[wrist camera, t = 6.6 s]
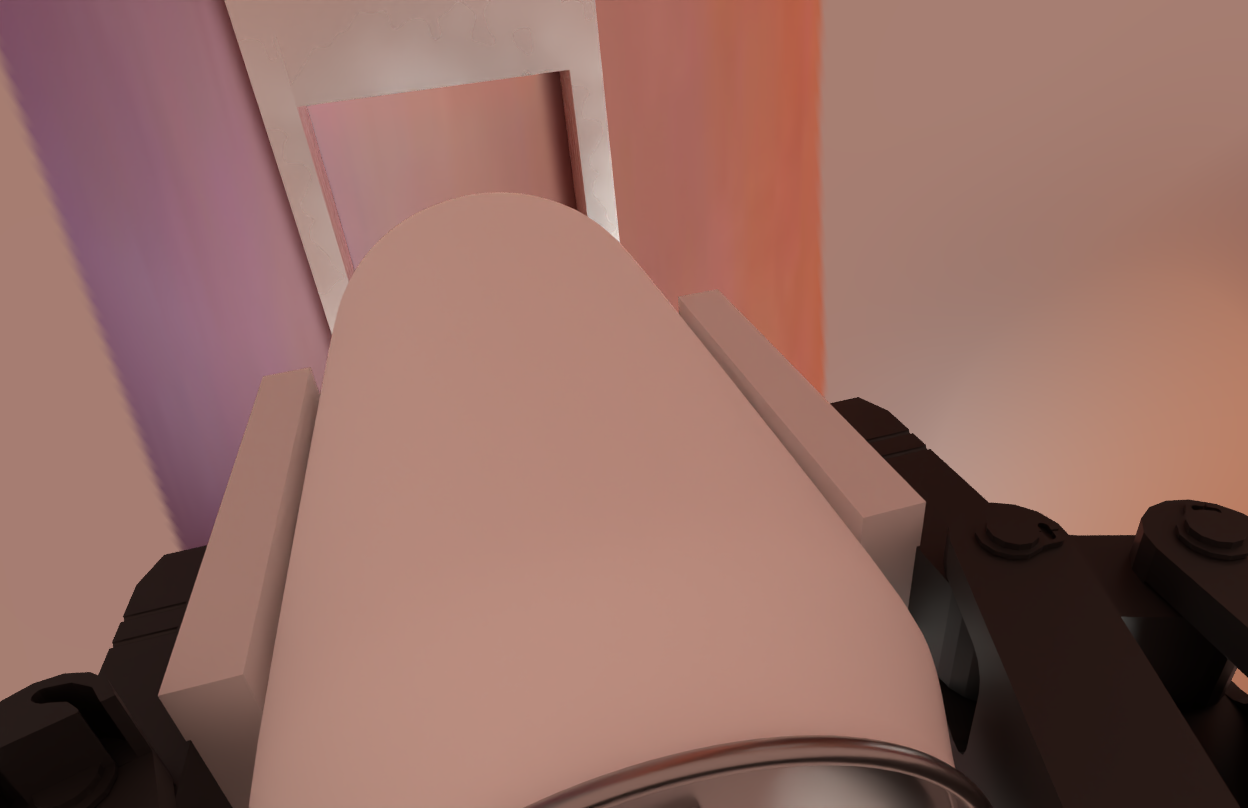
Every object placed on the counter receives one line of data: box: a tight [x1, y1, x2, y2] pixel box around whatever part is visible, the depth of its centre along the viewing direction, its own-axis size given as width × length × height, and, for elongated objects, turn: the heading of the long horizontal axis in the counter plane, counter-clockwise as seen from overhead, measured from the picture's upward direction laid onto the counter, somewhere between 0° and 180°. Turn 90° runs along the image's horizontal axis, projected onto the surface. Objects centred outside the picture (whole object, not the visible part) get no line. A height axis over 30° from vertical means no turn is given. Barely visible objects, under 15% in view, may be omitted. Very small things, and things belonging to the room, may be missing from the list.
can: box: [249, 192, 993, 808], centre depth 11 cm, size 6×6×12 cm
